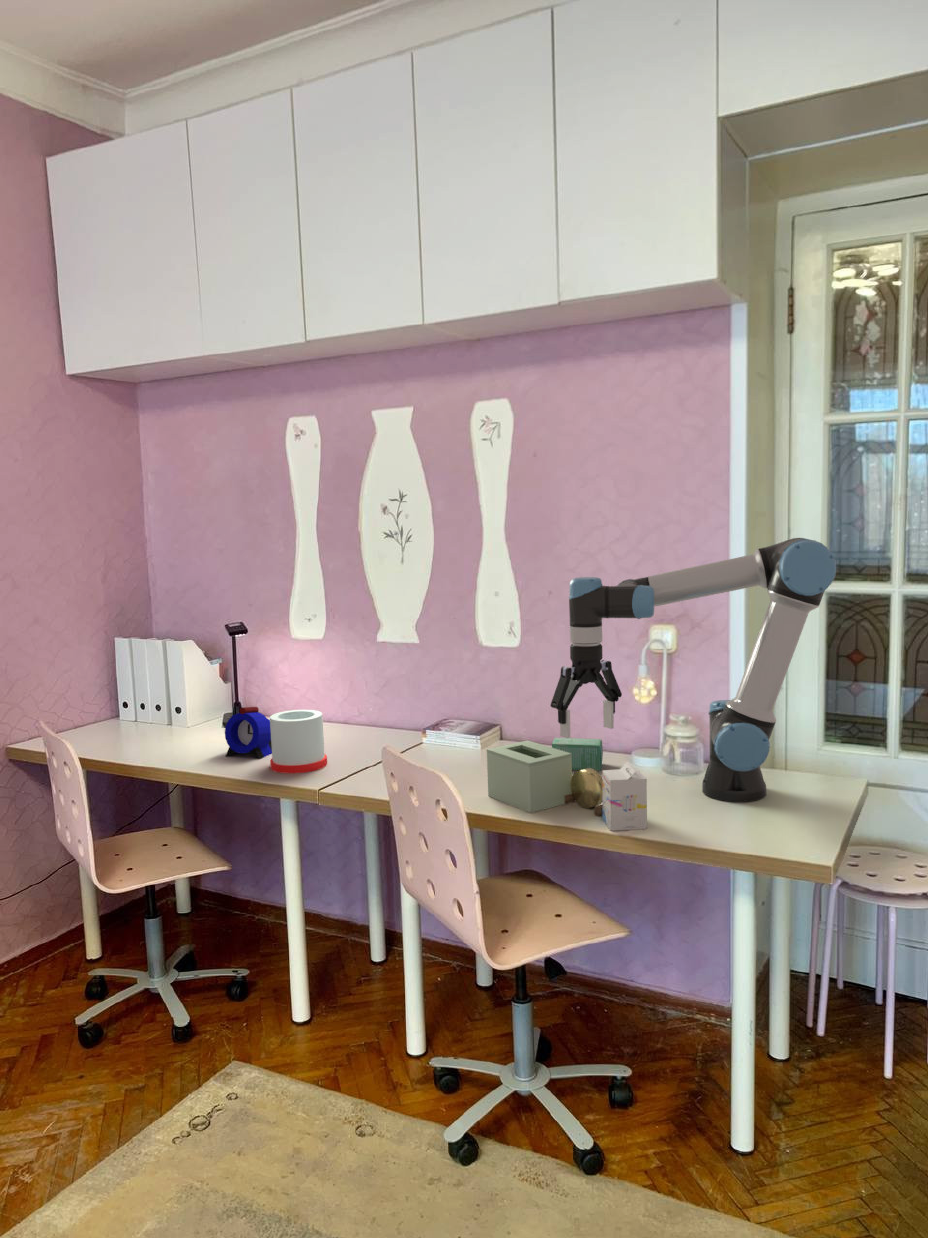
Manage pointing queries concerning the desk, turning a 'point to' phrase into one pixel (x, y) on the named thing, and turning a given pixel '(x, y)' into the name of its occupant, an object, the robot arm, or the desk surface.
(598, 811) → the cradle
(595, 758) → the box
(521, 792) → the box
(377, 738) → the desk surface
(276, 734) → the container
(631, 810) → the ink box
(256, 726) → the alarm clock
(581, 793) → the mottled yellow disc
